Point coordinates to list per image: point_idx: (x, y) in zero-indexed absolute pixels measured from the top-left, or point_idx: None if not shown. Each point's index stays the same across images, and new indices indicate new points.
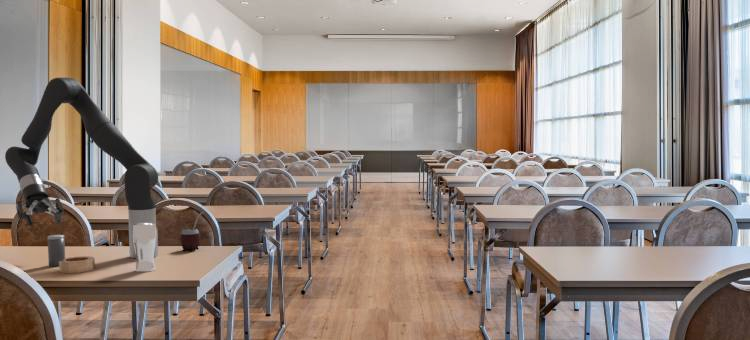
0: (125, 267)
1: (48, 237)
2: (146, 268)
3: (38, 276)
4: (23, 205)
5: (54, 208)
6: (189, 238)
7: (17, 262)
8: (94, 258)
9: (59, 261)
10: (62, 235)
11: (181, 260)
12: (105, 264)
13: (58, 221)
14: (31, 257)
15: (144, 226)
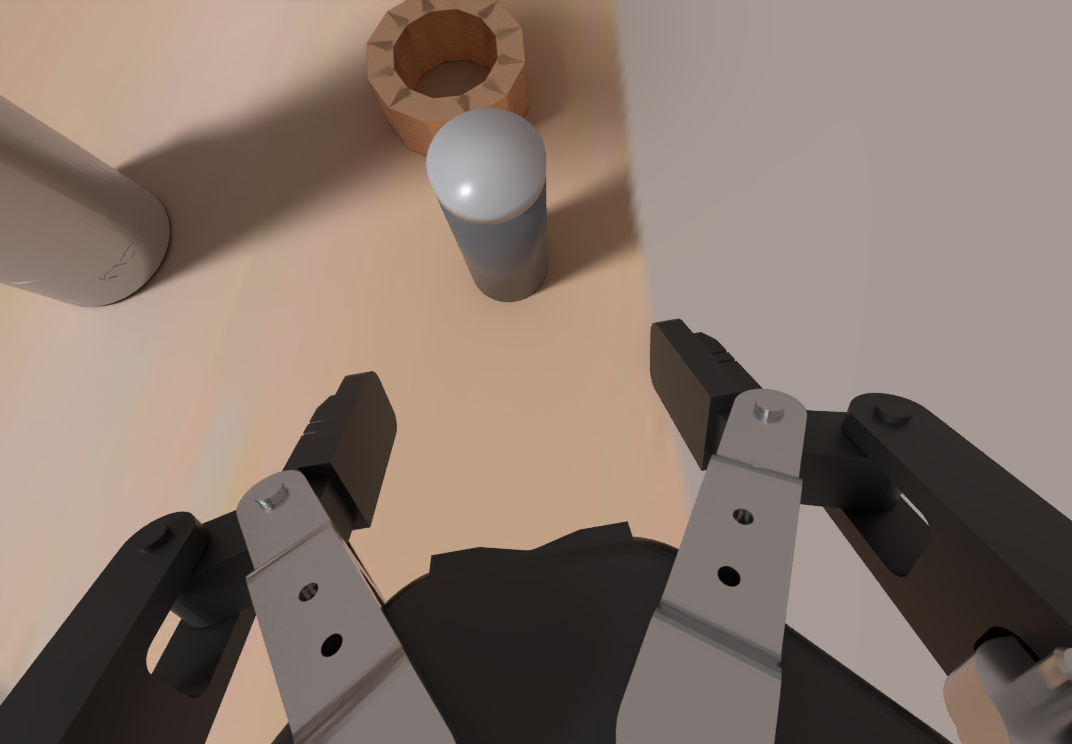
0: (284, 37)
1: (542, 146)
2: None
3: (617, 60)
4: (1007, 711)
5: (273, 551)
6: None
7: (677, 511)
8: (369, 46)
9: (524, 59)
10: (439, 157)
11: (47, 46)
12: (322, 152)
13: (371, 377)
14: None
15: None
